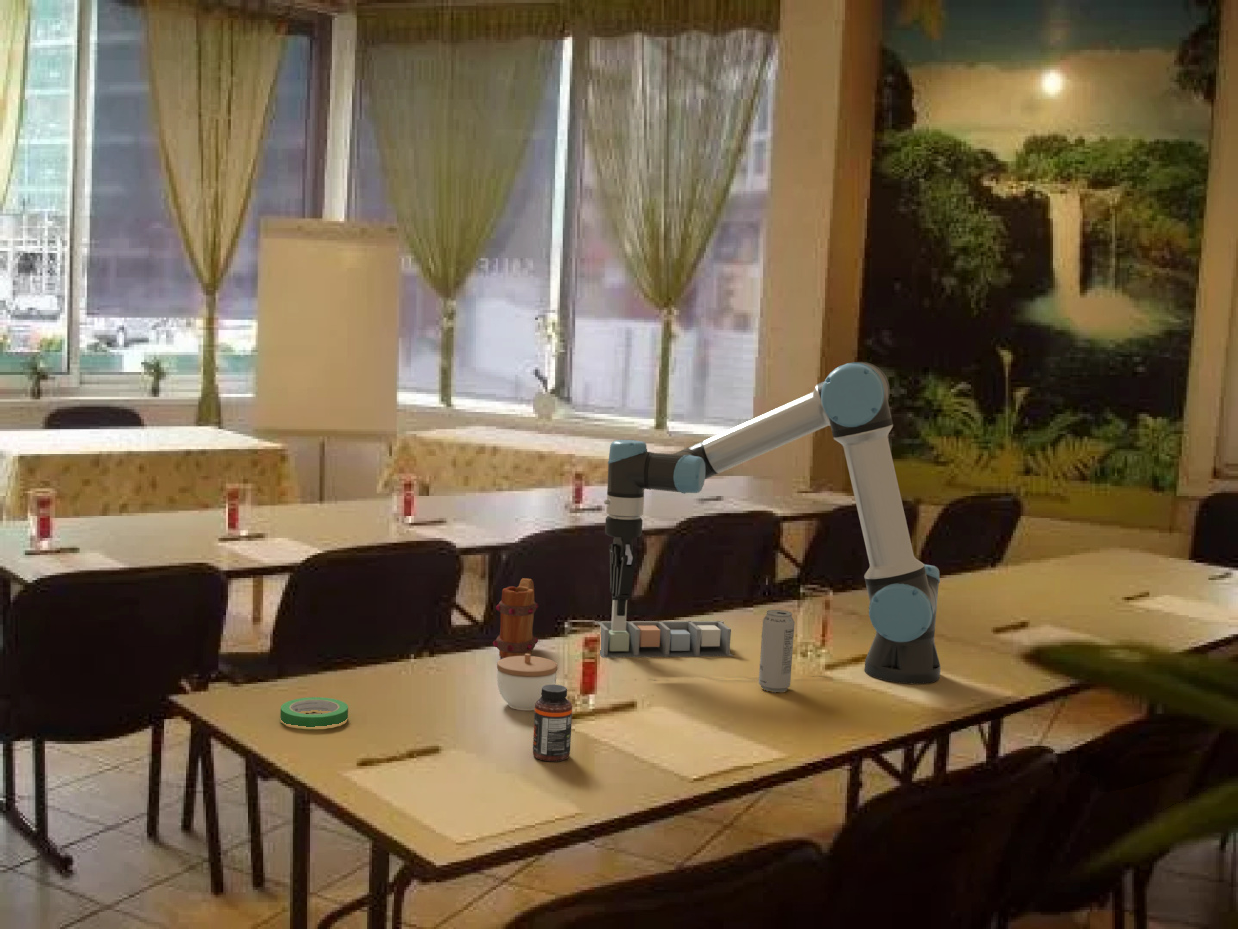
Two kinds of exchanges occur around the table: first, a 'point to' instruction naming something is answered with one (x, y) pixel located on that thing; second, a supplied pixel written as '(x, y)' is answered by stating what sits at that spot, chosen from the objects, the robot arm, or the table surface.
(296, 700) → the tape roll
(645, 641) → the terracotta key
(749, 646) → the table surface
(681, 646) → the slate key
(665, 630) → the grey compartment rack
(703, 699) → the table surface
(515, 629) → the mug
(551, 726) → the supplement bottle
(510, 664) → the lidded jar
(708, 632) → the ivory key
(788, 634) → the energy drink can
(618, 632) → the sage key
